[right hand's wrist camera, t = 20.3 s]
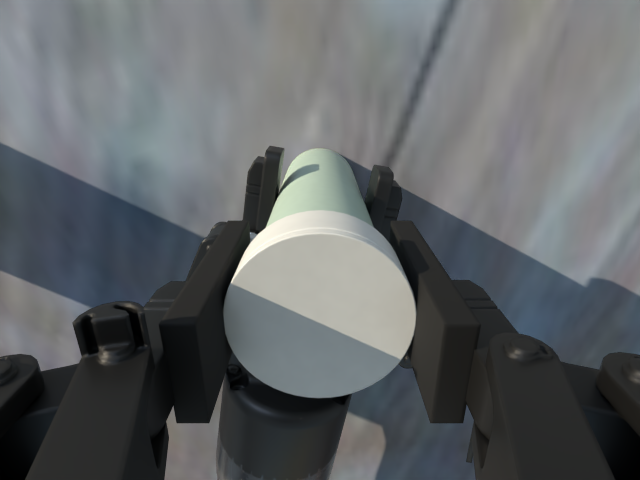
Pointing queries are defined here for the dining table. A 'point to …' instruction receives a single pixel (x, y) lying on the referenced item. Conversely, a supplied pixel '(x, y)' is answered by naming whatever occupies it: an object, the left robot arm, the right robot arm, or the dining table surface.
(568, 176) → the dining table surface
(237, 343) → the lid
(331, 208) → the pale green cylinder
